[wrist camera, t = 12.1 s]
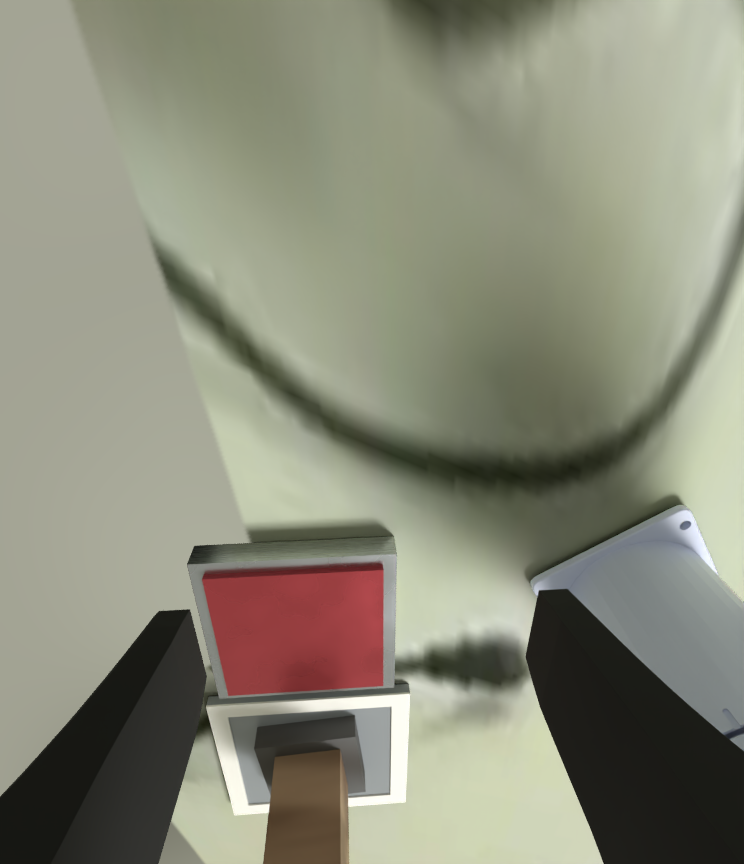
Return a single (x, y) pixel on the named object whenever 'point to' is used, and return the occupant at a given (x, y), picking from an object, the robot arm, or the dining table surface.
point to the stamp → (310, 788)
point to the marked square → (373, 708)
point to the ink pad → (298, 615)
